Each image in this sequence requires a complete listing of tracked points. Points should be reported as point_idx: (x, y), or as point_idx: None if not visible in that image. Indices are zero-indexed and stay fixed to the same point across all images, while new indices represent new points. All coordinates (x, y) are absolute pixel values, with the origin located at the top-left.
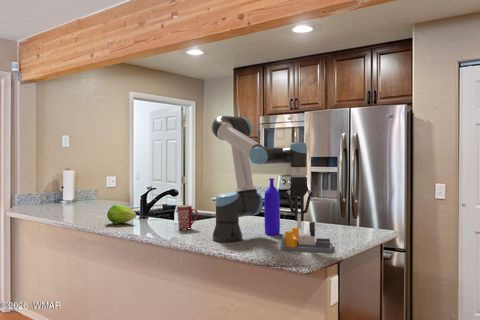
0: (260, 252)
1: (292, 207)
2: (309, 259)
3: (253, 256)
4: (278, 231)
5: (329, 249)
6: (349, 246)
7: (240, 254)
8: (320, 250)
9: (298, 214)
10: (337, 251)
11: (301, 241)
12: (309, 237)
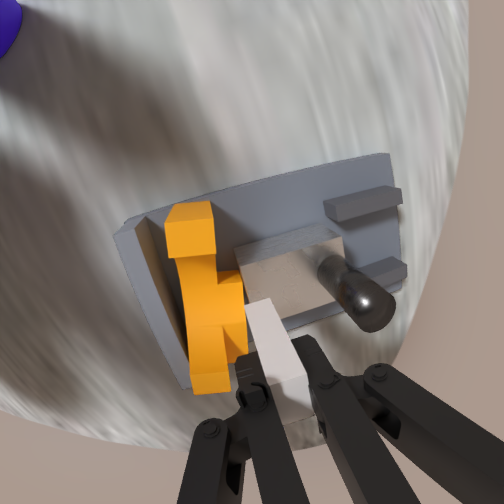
0: (132, 404)
1: (241, 495)
2: None
3: (149, 443)
4: (12, 24)
5: (393, 290)
6: (436, 135)
7: (100, 437)
8: None
9: (292, 421)
10: (410, 249)
11: None
12: (321, 302)
